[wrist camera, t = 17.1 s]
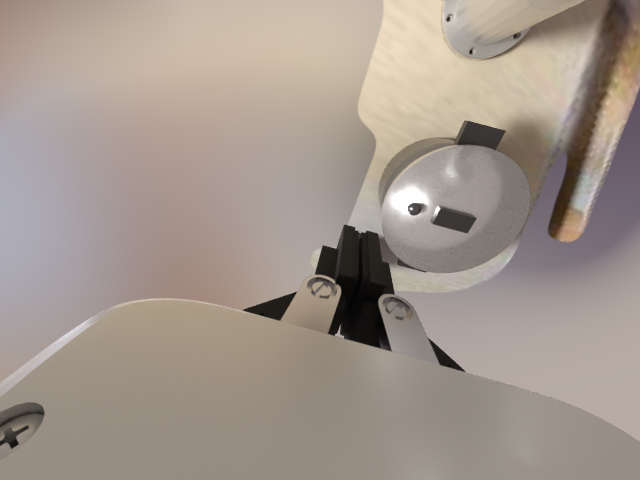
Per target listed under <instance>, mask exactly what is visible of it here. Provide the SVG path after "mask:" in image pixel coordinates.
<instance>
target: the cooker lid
mask: <svg viewBox="0 0 640 480" xmlns="http://www.w3.org/2000/svg"><path fill="white" fill-rule="evenodd" d="M530 203H531V193H530V187H529V183H528V180H527V178H526V176H525V174H524V172H523V171H522V169H521V168H520V167H519V166H518V164H517V163H516V162H515V161H513V160H512V159H511V158H510V157H508V156H507V155H505V154H503V153H501V152H499V151H496V150H493V149H490V148H487V147H484V146H479V145H471V144H460V145H451V146H446V147H442V148H439V149H436V150H433V151H431V152H429V153H427V154H424V155H423V156H421V157H419V158H418V159H416V160H414V161H413V162H412V163H410V164H409V165H408V166H407V167H406V168H405V169H403V170H402V171H401V172H400V173H399V175H398V176H397V177H396V178H395V180H394V181H393V182H392V184H391V186H390V187H389V189H388V191H387V193H386V195H385V198H384V201H383V204H382V210H381V224H382V230H383V234H384V238H385V240H386V242H387V245H388V246H389V248H390V249H391V251H392V252H393V253H394V254H395V255H396V256H397V257H398V258H399V259H400V260H401V261H403V262H404V263H406V264H408V265H409V266H412V267H414V268H416V269H419V270H422V271H427V272H433V273H452V272H459V271H464V270H467V269H471V268H474V267H476V266H479V265H481V264H483V263H485V262H487V261H489V260H490V259H492V258H494V257H495V256H497V255H498V254H499V253H501V252H502V251H503V250H504V249H505V248H507V247H508V246H509V245H510V244H511V243H512V241H513V240H514V239H515V238H516V237H517V235H518V234H519V232H520V231H521V229H522V228H523V225H524V223H525V221H526V219H527V216H528V213H529V209H530Z"/></svg>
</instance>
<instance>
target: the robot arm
mask: <svg viewBox="0 0 640 480" xmlns="http://www.w3.org/2000/svg"><path fill="white" fill-rule="evenodd" d="M584 1H586V0H444V1H443V6H442V17H441V21H442V30H443V33H444V37H445V40H446V41H447V43H448V45H449V47H450V48H451V49H452V50H453V51H454V52H455V53H456V54H458V55H459V56H461V57H464V58H467V59H471V60H481V59H487V58H490V57H494V56H496V55H498V54H500V53H503V52H504V51H506V50H508V49H509V48H511V47H512V46H514V45H515V44H516V43H517V42H518V41H520V40H521V39H522V38H523V36H524V35H525V34H526V33H527V32H528V31H529V30H530V29H531V27H532V26H533V25H535V24H537V23H539V22H541V21H543V20H546V19H548V18H550V17H552V16H554V15H556V14H558V13H561V12H563V11H565V10H567V9H569V8H571V7H573V6H576V5H578V4H580V3H582V2H584ZM447 18H449V22H447V21H446V19H447ZM514 35H515V38H513V36H514ZM470 50H471V51H472V53H471V54H469V51H470ZM340 325H341V329H340V335H343V336H344V338H340V337H337V336H335V334H336V333H337V332H338V330H339V327H340ZM0 480H640V442H639V441H638V440H636V439H635V438H633V437H632V436H630V435H628V434H627V433H625V432H624V431H622V430H621V429H619V428H617V427H615V426H614V425H612V424H610V423H608V422H607V421H605V420H603V419H601V418H599V417H597V416H595V415H593V414H591V413H589V412H587V411H584V410H582V409H580V408H578V407H575V406H572V405H570V404H567V403H565V402H562V401H560V400H557V399H554V398H551V397H548V396H544V395H541V394H538V393H535V392H532V391H529V390H526V389H522V388H519V387H515V386H512V385H509V384H505V383H501V382H498V381H494V380H491V379H487V378H483V377H480V376H477V375H473V374H469V373H466V372H465V371H464V370H463V369H462V368H461V367H460V366H459V365H458V364H456V362H455V361H454V360H452V359H451V358H450V357H449V356H448V355H447V354H446V353H445V352H444V351H442V350H441V349H440V348H439V347H438V346H437V345H435V343H433V342H432V341H431V340H430V339H429V338H428V337H427V335H426V333H425V331H424V328H423V326H422V324H421V322H420V320H419V317H418V315H417V313H416V311H415V309H414V308H413V306H412V305H411V304H410V303H409V302H408V301H406V300H405V299H403V298H401V297H399V296H397V295H395V294H394V288H393V283H392V278H391V272H390V267H389V264H388V263H386V262H382V257H381V250H380V243H379V237H378V234H377V233H374V232H370V231H366V233H361V235H360V238H359V231H355V227H352V226H348V225H344V227H343V230H342V233H341V236H340V239H339V242H338V246H337V249H335V248H331V247H327V246H323V247H322V250H321V254H320V258H319V261H318V265H317V269H316V272H315V275H311V276H309V277H307V278H306V279H305V280H304V281H303V283H302V285H301V287H300V288H299V290H298V292H295V293H292V294H289V295H286V296H283V297H280V298H277V299H274V300H271V301H268V302H265V303H262V304H259V305H256V306H253V307H250V308H247V309H244V310H242V311H241V310H237V309H232V308H229V307H224V306H220V305H216V304H211V303H207V302H201V301H195V300H186V299H173V298H166V299H165V298H164V299H144V300H137V301H131V302H126V303H123V304H120V305H116V306H114V307H112V308H109V309H107V310H105V311H103V312H101V313H99V314H97V315H95V316H93V317H92V318H90V319H88V320H87V321H85V322H83V323H82V324H80V325H79V326H77V327H76V328H74V329H73V330H72V331H70V332H68V333H67V334H65V335H64V336H62V337H61V338H60V339H58V340H57V341H55V342H54V343H53V344H51V345H50V346H49V347H47V348H46V349H44V350H43V351H41V352H40V353H39V354H37V356H35V357H33V358H32V359H31V360H30V361H28V362H27V363H26V364H24V365H23V366H22V367H20V368H19V369H18V370H17V371H15V372H14V373H12V374H11V375H10V376H8V377H7V378H6V379H5V380H3V381H2V382H1V383H0Z"/></svg>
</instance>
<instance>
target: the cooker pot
mask: <svg viewBox="0 0 640 480" xmlns="http://www.w3.org/2000/svg"><path fill="white" fill-rule="evenodd" d="M505 132H506V131H504V130H501V129H497V128H493V127H489V126H486V125H482V124H478V123H474V122H470V121H464V123H463V125H462V127H461V129H460V131H459V133H458V136H457V138H456V140H455V141H454V140H451V139H446V138H429V139H424V140H421V141H418V142H415V143H413V144H411V145H409V146H407V147H406V148H404V149H403V150H401V151H400V152H399V153H398V154H396V156H395V157H394V158H393V159H392V160H391V161H390V162H389V164H388V165H387V167H386V168H385V170H384V172H383V174H382V177H381V180H380V185H379V200H380V205H381V210H382V204H383V201H384V198H385V195H386V193H387V191H388V189H389V187H390V186H391V184H392V182H393V181H394V180H395V178H396V177H397V176H398V175H399V173H400V172H401V171H402V170H403V169H405V168H406V167H407V166H408V165H409V164H410V163H412V162H413V161H414V160H416V159H418V158H419V157H421V156H423V155H424V154H427V153H429V152H431V151H433V150H436V149H439V148H442V147H446V146H451V145H460V144H471V145H479V146H484V147H487V148H490V149H493V150H495V149H496V147H497V146H498V144H499V142H500V140H501V139H502V137H503V135H504V133H505ZM397 262H398V265H400V266H404V267H407V268H411V269H415V270H418V271H422V270H419V269H416V268H414V267H412V266H409V265H408V264H406V263H404V262H403V261H401V260H400V259H398V261H397ZM422 272H426V271H422Z"/></svg>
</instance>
